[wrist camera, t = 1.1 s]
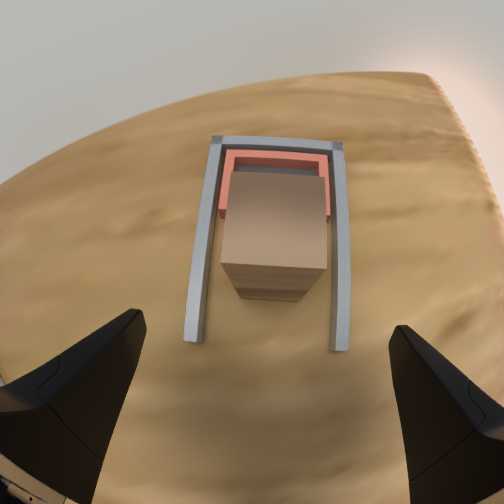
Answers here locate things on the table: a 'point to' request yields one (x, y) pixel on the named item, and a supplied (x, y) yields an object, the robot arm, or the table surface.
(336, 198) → the u-shaped frame
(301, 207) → the walnut block
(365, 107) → the table surface
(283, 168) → the rectangular frame
